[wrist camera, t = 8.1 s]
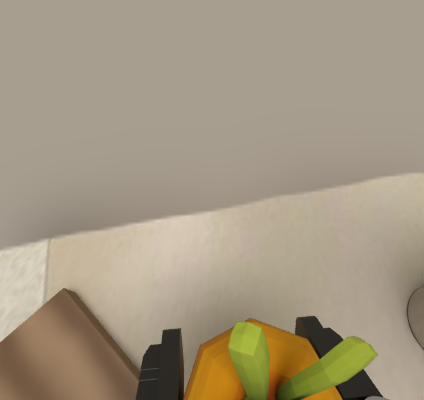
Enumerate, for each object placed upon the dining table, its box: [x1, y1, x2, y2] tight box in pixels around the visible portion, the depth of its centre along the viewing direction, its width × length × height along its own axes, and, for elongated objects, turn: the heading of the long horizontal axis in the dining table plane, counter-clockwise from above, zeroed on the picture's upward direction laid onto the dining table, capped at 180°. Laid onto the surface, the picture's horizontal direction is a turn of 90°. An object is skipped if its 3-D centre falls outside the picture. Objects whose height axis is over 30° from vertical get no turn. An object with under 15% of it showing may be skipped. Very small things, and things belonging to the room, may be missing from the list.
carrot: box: [183, 318, 378, 400], centre depth 11 cm, size 5×5×15 cm
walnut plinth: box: [0, 288, 140, 400], centre depth 27 cm, size 14×14×3 cm
